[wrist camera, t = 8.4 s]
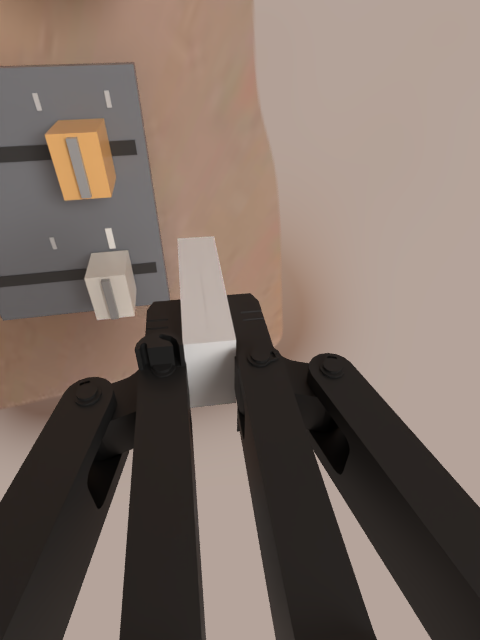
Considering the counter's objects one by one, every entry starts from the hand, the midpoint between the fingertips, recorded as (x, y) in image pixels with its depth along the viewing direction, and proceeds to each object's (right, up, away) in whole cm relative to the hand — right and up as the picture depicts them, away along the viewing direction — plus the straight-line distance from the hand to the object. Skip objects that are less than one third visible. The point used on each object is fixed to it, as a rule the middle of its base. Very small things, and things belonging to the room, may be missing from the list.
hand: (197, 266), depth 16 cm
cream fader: (-9, +2, +17) cm, 19 cm away
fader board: (-13, +7, +14) cm, 20 cm away
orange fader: (-9, +10, +11) cm, 17 cm away
